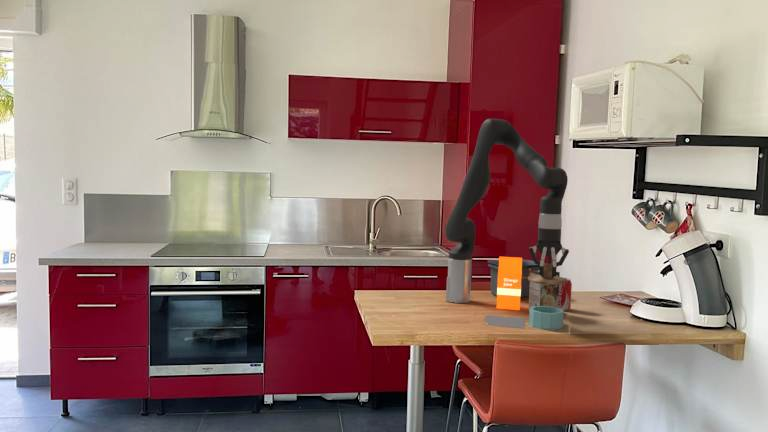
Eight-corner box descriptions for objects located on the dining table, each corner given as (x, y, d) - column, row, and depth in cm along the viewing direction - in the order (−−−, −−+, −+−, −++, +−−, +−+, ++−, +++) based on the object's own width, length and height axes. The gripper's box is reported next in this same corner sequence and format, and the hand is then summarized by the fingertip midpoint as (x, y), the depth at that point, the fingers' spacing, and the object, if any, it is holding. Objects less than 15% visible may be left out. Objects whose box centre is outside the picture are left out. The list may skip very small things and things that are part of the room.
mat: (482, 326, 218) (482, 324, 218) (485, 316, 231) (486, 315, 231) (524, 330, 214) (524, 328, 214) (525, 320, 228) (525, 318, 228)
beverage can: (571, 312, 242) (572, 280, 241) (554, 310, 243) (555, 279, 242) (569, 308, 248) (571, 277, 247) (553, 307, 250) (554, 276, 248)
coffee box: (546, 310, 243) (548, 269, 241) (558, 314, 237) (560, 272, 236) (527, 313, 239) (529, 270, 237) (539, 317, 233) (541, 273, 232)
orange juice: (519, 311, 240) (522, 259, 238) (496, 310, 242) (498, 257, 240) (520, 307, 248) (522, 256, 246) (497, 305, 250) (499, 254, 248)
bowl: (528, 329, 215) (529, 312, 215) (529, 321, 226) (530, 304, 226) (562, 332, 213) (563, 314, 212) (562, 324, 223) (563, 307, 223)
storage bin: (525, 290, 279) (526, 258, 278) (546, 298, 265) (548, 264, 264) (482, 293, 271) (484, 260, 270) (502, 301, 257) (504, 266, 256)
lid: (527, 282, 213) (527, 265, 212) (528, 276, 226) (529, 260, 225) (567, 285, 210) (568, 268, 209) (566, 278, 222) (567, 262, 222)
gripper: (528, 226, 214) (526, 277, 216) (571, 228, 211) (569, 280, 212) (529, 224, 221) (527, 274, 223) (571, 226, 218) (568, 276, 219)
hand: (547, 277), depth 218 cm, fingers closed on lid, 2 cm apart
